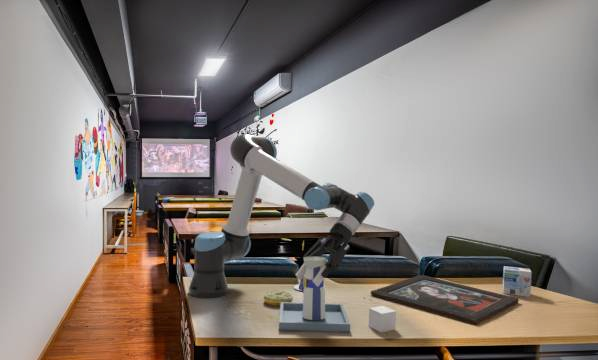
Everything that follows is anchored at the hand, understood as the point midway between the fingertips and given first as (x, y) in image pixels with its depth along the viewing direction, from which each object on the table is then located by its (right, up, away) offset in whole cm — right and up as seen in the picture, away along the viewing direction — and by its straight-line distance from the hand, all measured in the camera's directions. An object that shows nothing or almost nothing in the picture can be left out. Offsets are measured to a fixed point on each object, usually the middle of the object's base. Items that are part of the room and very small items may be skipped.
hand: (306, 280), depth 138 cm
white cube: (+24, -15, -2) cm, 29 cm away
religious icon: (+55, -16, +32) cm, 66 cm away
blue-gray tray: (+2, -14, +2) cm, 14 cm away
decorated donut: (-10, -13, +20) cm, 26 cm away
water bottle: (+2, -13, +2) cm, 13 cm away
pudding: (+1, -13, +40) cm, 42 cm away
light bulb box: (+91, -16, +44) cm, 103 cm away
